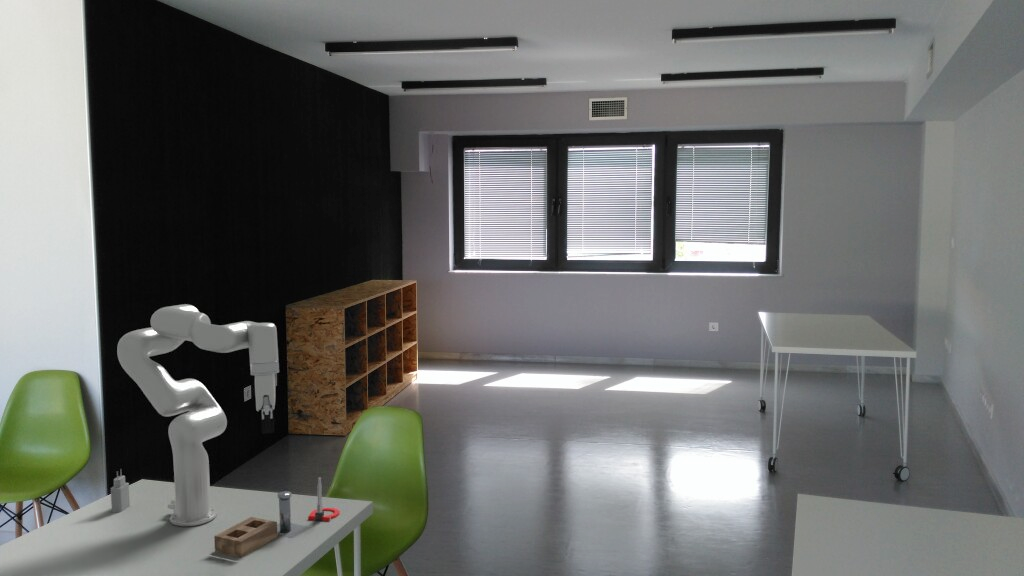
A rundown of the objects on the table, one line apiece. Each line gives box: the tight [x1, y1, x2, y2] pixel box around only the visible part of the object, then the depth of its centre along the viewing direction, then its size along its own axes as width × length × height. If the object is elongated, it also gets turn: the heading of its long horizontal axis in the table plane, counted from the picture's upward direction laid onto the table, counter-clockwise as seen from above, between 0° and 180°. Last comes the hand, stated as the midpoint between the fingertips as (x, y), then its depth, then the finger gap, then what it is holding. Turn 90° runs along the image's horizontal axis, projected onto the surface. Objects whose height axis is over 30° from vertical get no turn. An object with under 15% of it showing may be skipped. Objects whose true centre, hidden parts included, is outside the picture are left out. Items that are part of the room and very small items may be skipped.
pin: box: [277, 490, 292, 533], centre depth 220 cm, size 4×4×11 cm
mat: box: [277, 522, 312, 539], centre depth 221 cm, size 10×8×1 cm
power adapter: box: [110, 468, 131, 513], centre depth 236 cm, size 3×5×12 cm, turn 176°
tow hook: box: [307, 477, 340, 522], centre depth 231 cm, size 8×13×9 cm
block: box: [214, 516, 278, 558], centre depth 211 cm, size 9×14×4 cm, turn 157°
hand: (268, 428), depth 217 cm, fingers open, 9 cm apart
